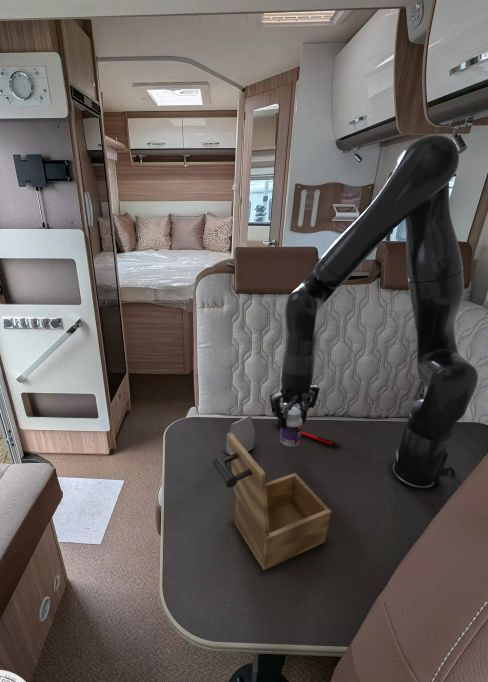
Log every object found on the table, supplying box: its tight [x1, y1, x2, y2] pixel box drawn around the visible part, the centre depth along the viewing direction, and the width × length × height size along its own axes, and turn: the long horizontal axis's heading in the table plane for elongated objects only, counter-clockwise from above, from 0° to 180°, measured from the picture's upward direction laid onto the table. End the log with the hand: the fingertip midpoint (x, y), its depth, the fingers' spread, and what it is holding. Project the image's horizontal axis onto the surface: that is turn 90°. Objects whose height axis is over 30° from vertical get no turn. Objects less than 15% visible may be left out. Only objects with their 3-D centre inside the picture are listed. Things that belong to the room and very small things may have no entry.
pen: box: [274, 423, 339, 447], centre depth 105 cm, size 1×19×1 cm, turn 58°
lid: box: [211, 433, 269, 537], centre depth 64 cm, size 15×12×6 cm
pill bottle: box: [279, 406, 303, 448], centre depth 96 cm, size 5×5×10 cm
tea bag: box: [225, 414, 255, 455], centre depth 97 cm, size 4×7×10 cm, turn 131°
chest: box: [234, 472, 332, 571], centre depth 74 cm, size 15×12×9 cm
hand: (291, 424), depth 96 cm, fingers closed on pill bottle, 5 cm apart
